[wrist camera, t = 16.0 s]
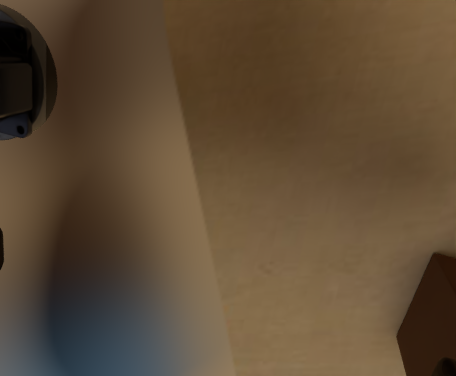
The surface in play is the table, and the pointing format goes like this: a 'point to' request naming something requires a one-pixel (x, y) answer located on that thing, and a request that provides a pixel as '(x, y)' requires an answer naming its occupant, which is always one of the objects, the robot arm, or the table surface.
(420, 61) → the table surface
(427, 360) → the brown wooden block
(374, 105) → the table surface
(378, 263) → the table surface
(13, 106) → the robot arm
